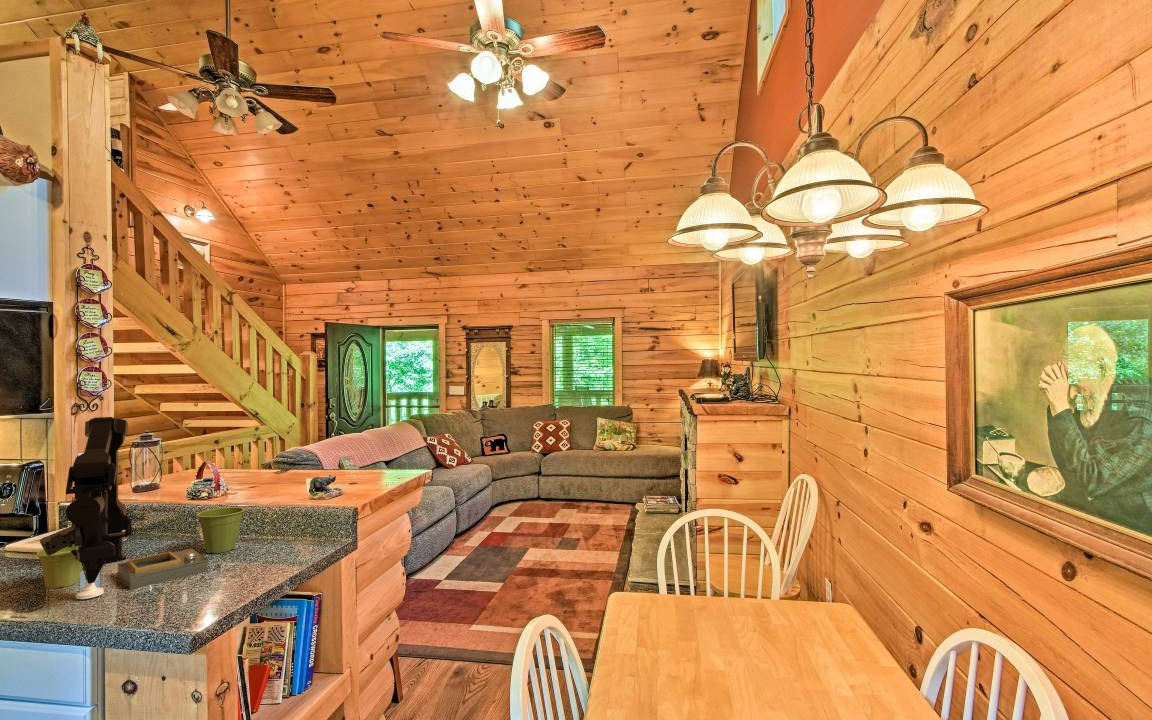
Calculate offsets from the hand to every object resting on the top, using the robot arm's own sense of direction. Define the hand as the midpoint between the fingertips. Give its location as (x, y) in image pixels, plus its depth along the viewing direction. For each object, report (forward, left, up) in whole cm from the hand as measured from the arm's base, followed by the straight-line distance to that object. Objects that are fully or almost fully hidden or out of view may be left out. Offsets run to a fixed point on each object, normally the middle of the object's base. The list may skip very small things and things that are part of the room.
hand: (90, 581), depth 128 cm
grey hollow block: (-5, +15, -3) cm, 16 cm away
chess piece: (0, 0, -3) cm, 3 cm away
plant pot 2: (-15, +31, -4) cm, 35 cm away
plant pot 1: (-15, -3, -4) cm, 16 cm away
